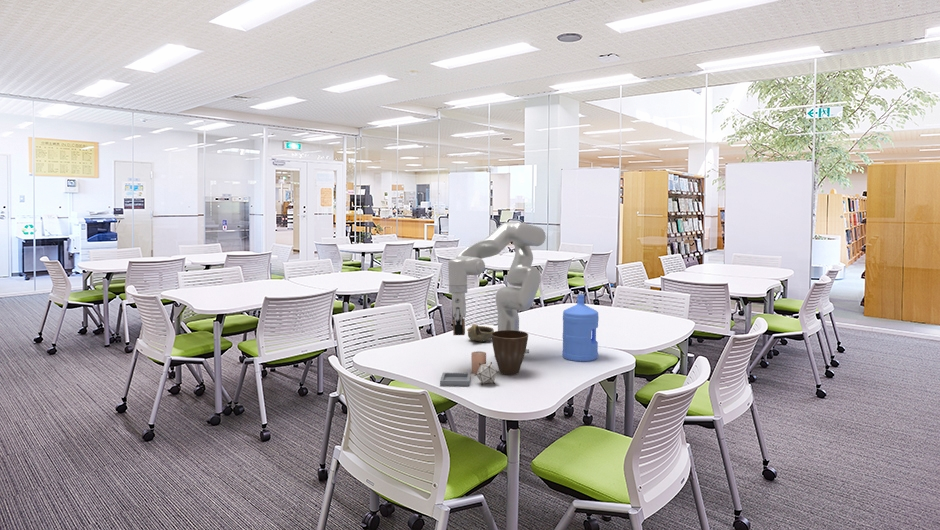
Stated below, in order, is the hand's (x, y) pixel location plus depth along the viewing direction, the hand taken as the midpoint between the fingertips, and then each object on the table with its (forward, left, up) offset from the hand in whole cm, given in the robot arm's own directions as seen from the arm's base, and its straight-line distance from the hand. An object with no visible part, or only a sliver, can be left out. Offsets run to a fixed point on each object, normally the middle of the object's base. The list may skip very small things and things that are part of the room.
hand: (459, 332), depth 231 cm
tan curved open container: (-7, -52, -16) cm, 54 cm away
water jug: (-53, -22, -16) cm, 59 cm away
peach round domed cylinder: (-8, +3, -16) cm, 18 cm away
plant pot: (-21, +3, -16) cm, 26 cm away
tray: (0, +16, -16) cm, 23 cm away
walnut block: (0, 0, -1) cm, 1 cm away
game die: (-12, +18, -16) cm, 27 cm away
